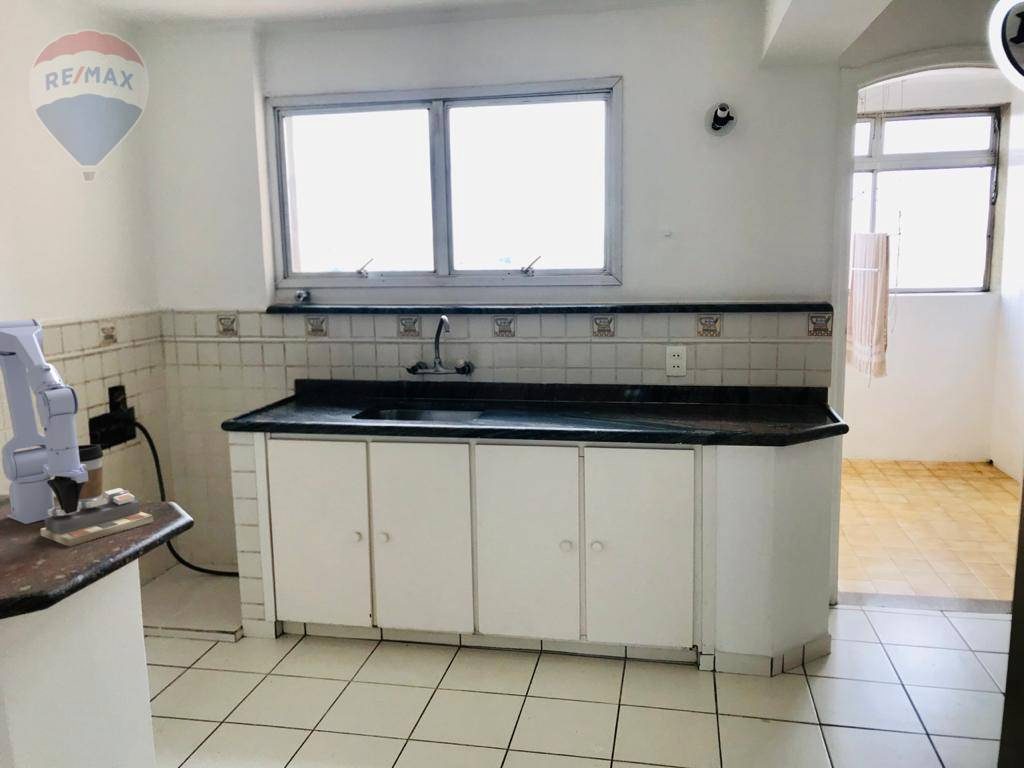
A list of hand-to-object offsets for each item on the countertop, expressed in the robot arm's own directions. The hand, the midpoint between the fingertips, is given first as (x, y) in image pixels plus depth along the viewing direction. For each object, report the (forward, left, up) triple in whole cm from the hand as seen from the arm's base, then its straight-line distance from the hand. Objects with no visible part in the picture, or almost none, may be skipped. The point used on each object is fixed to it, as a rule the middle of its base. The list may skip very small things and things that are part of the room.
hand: (69, 511), depth 169 cm
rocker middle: (-3, +6, 0) cm, 7 cm away
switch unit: (-1, +6, -6) cm, 8 cm away
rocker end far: (-3, +12, 0) cm, 12 cm away
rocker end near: (-3, 0, 0) cm, 3 cm away
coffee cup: (-16, +12, -6) cm, 21 cm away
